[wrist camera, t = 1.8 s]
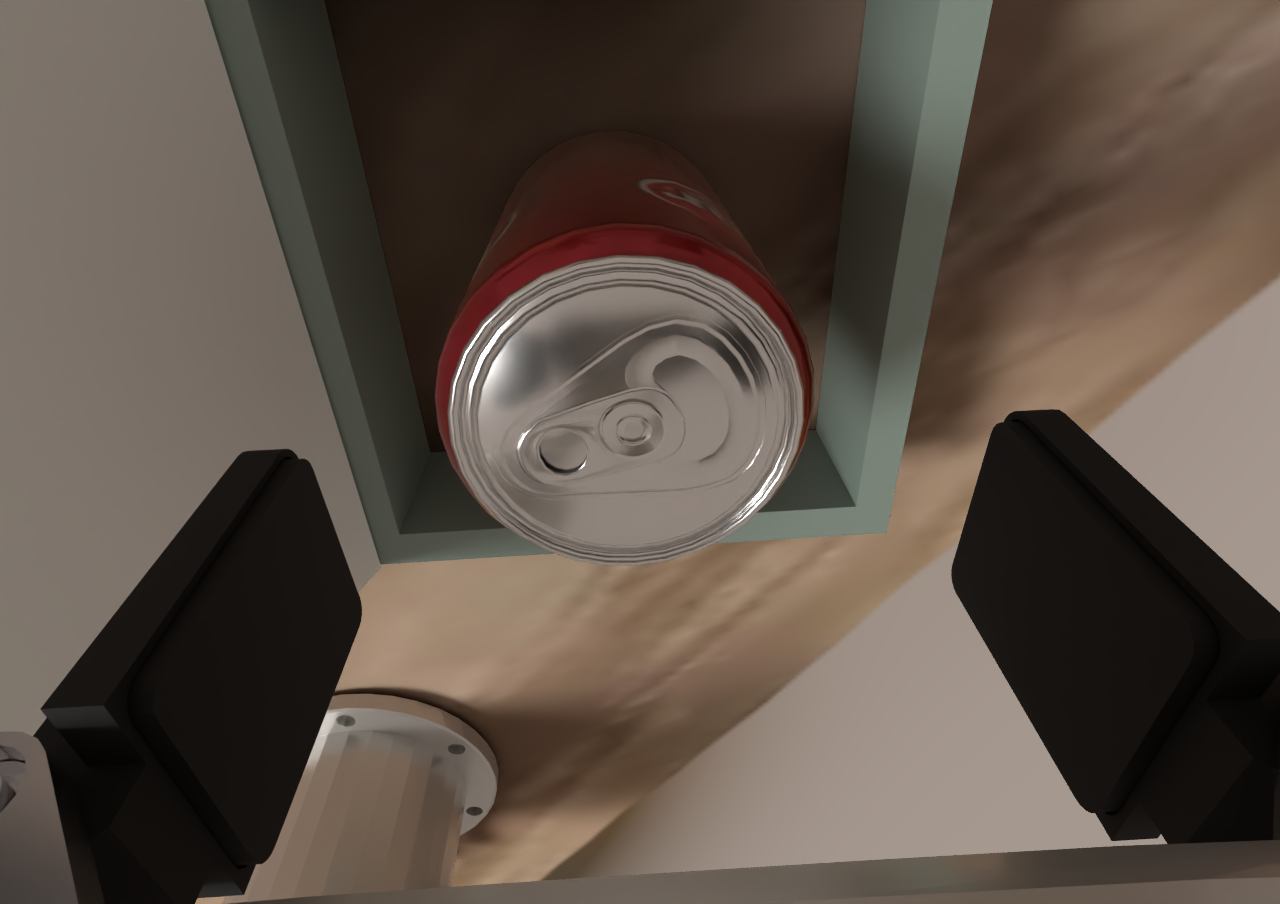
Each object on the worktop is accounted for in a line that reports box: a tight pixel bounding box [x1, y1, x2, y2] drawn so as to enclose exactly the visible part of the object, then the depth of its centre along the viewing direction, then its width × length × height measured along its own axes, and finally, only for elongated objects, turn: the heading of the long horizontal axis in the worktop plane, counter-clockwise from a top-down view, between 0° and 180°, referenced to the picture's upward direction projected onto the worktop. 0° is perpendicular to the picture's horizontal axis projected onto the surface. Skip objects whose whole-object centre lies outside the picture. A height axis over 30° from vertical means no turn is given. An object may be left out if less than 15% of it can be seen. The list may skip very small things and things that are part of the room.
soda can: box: [434, 131, 814, 565], centre depth 18 cm, size 7×7×12 cm
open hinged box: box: [0, 0, 993, 736], centre depth 15 cm, size 17×23×19 cm
